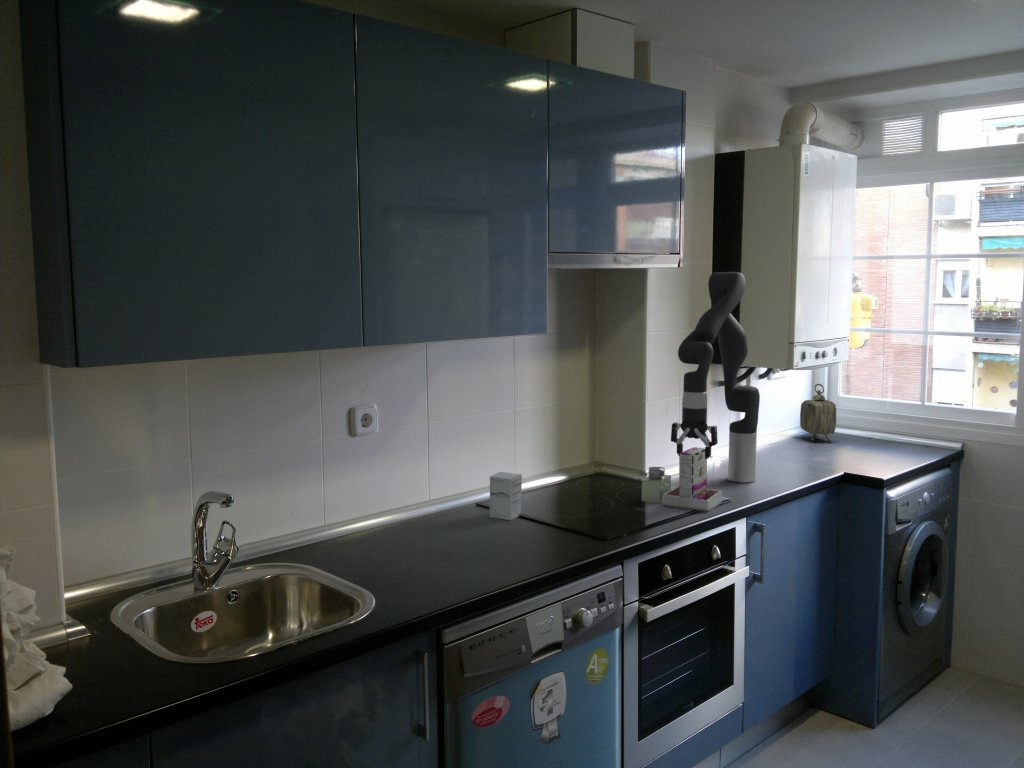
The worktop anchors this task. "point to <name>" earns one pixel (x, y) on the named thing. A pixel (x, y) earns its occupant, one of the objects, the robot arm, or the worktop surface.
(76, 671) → the worktop surface
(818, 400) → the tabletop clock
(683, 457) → the candy bar box
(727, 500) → the worktop surface
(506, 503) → the supplement box
